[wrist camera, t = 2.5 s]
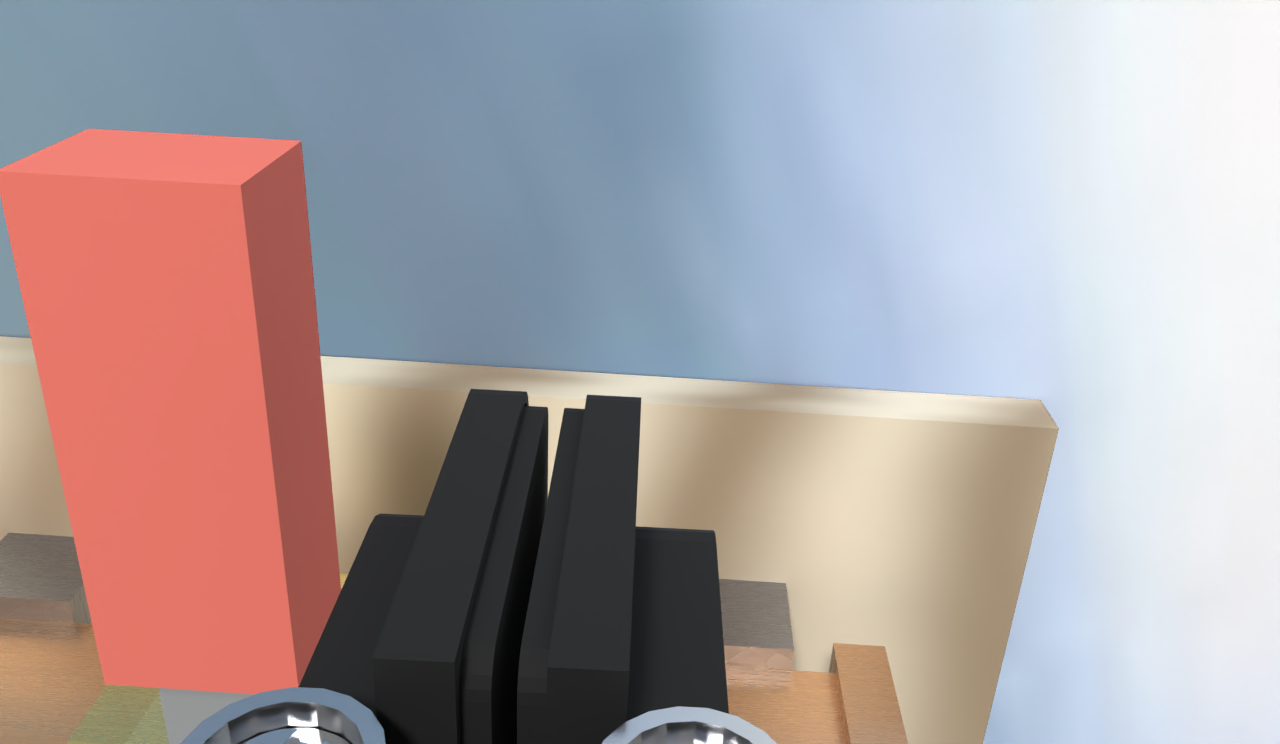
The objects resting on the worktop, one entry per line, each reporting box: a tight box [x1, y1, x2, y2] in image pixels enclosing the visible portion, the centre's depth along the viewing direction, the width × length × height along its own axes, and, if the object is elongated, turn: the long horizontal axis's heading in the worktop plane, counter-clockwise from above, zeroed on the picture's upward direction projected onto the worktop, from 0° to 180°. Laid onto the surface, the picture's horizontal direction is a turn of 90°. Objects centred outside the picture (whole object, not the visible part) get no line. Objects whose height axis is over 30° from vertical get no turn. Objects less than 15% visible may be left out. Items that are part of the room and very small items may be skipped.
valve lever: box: [0, 129, 341, 744], centre depth 15 cm, size 14×3×2 cm, turn 177°
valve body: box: [0, 533, 908, 744], centre depth 21 cm, size 20×5×6 cm, turn 87°
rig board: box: [0, 336, 1059, 744], centre depth 24 cm, size 26×12×1 cm, turn 87°
